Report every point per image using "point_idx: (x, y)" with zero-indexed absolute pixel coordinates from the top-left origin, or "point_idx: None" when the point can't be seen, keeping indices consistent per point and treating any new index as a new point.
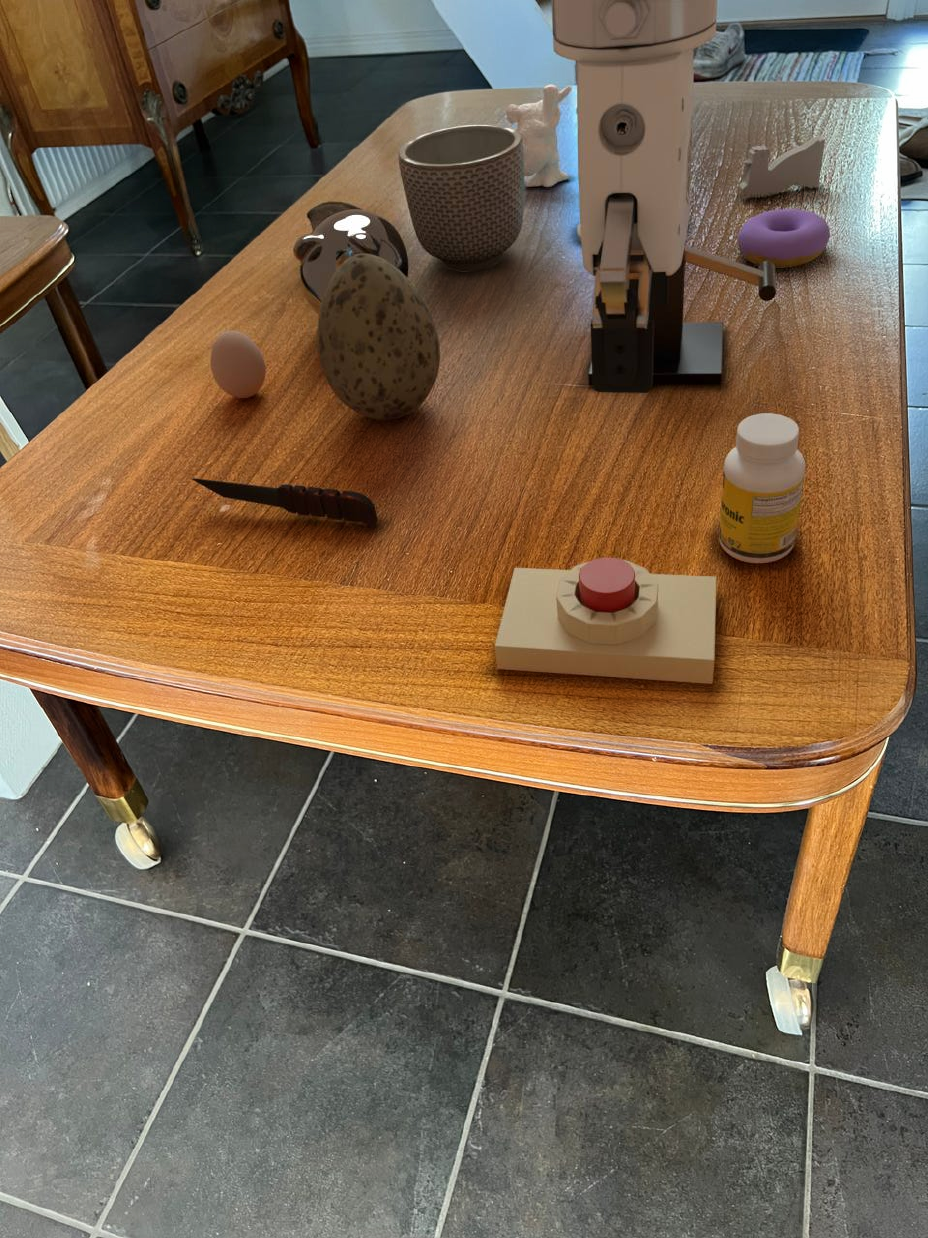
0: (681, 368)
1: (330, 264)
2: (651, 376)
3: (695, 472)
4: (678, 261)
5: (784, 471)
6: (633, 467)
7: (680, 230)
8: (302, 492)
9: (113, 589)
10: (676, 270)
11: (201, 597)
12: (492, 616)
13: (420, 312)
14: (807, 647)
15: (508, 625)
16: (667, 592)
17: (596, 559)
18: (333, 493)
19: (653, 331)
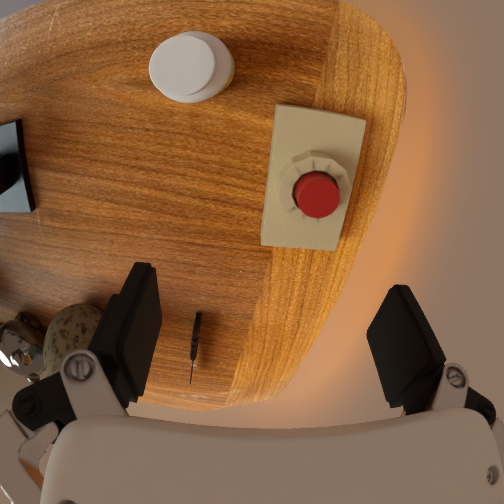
0: (14, 150)
1: (35, 368)
2: (413, 297)
3: (116, 119)
4: (486, 423)
5: (217, 49)
6: (114, 165)
7: (482, 474)
8: (195, 352)
9: (253, 383)
10: (471, 410)
11: (260, 361)
12: None
13: (62, 346)
14: (327, 50)
15: (318, 244)
16: (295, 142)
17: (301, 206)
18: (196, 342)
19: (432, 346)
